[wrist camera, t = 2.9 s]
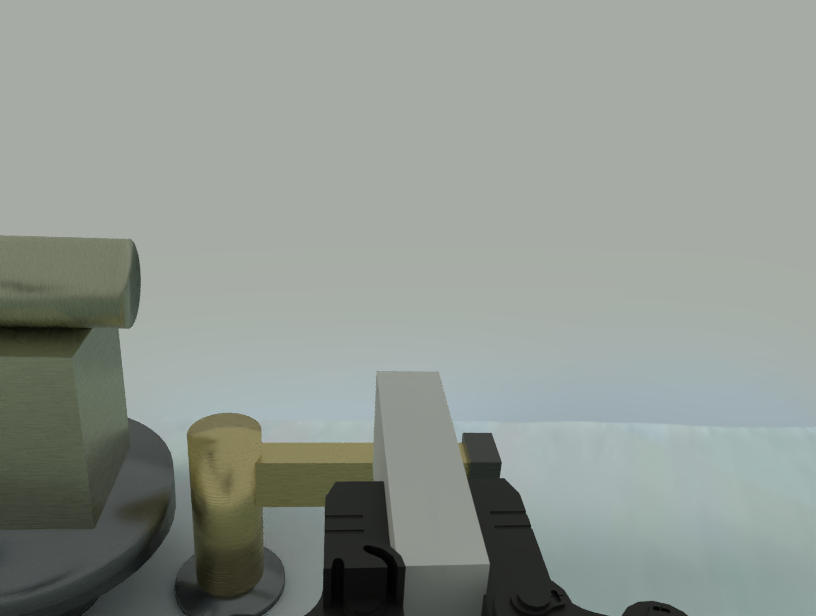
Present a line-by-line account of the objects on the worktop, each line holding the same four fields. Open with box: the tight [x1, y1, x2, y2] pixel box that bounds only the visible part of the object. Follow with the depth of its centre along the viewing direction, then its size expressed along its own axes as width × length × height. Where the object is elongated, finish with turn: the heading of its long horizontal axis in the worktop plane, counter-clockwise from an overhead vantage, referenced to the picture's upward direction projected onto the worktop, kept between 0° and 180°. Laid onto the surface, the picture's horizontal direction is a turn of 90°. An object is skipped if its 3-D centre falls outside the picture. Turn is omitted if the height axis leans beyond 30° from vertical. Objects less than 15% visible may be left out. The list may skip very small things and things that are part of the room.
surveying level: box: [0, 235, 285, 616], centre depth 33 cm, size 19×21×18 cm
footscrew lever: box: [187, 413, 502, 596], centre depth 36 cm, size 14×3×8 cm, turn 95°
